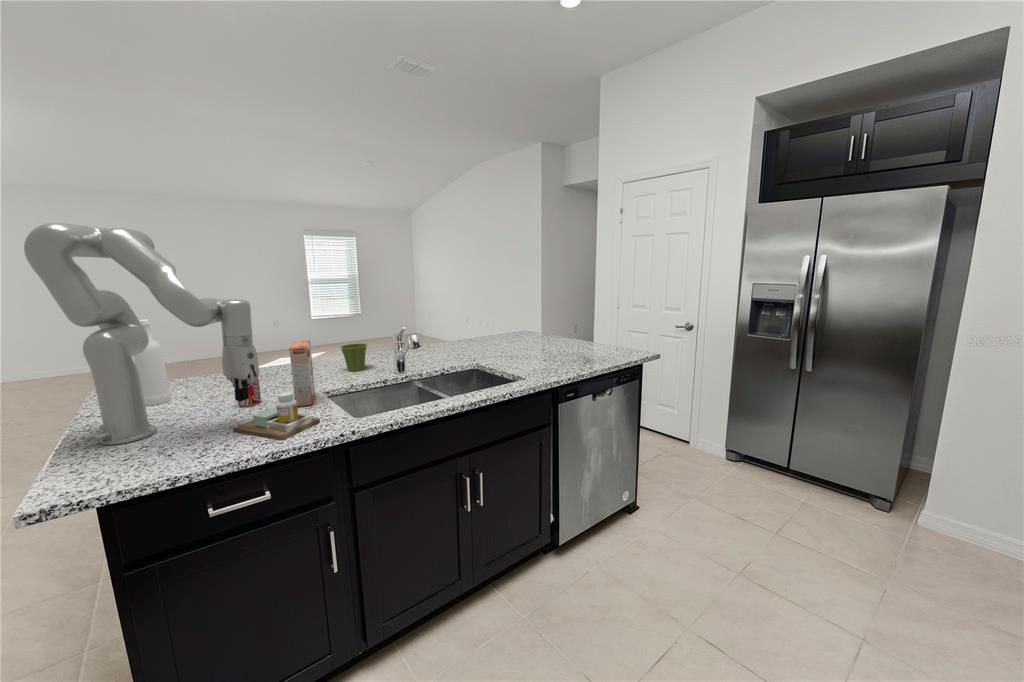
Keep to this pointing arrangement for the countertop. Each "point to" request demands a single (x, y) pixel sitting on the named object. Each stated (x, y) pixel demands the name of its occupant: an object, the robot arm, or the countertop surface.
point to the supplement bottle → (286, 408)
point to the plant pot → (354, 356)
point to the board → (277, 427)
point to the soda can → (252, 394)
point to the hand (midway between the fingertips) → (242, 399)
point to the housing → (264, 417)
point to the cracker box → (302, 373)
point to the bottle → (152, 371)
